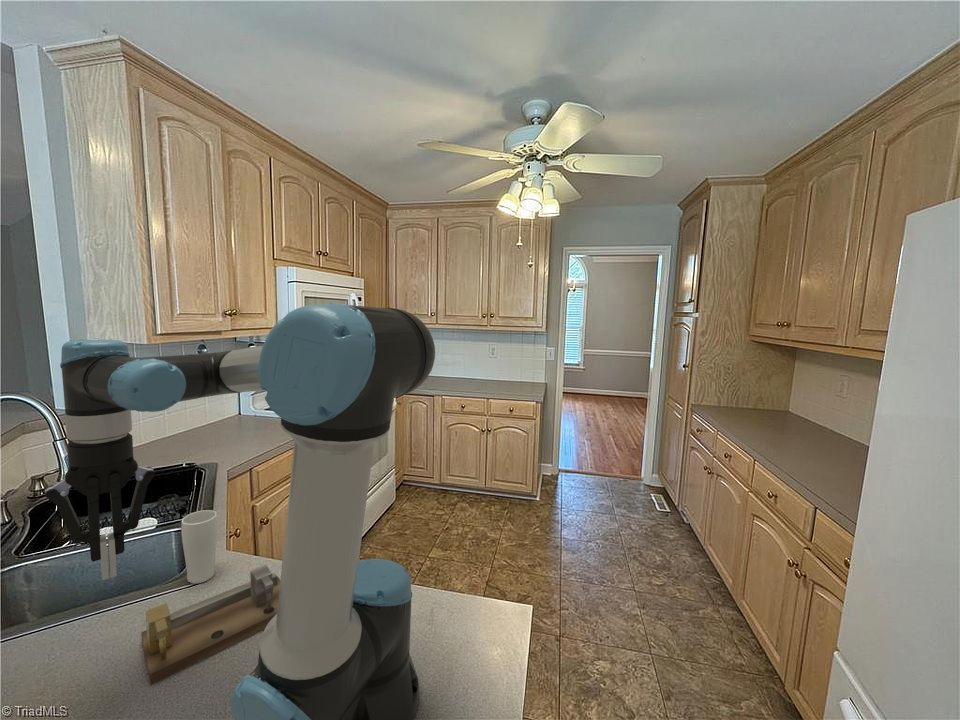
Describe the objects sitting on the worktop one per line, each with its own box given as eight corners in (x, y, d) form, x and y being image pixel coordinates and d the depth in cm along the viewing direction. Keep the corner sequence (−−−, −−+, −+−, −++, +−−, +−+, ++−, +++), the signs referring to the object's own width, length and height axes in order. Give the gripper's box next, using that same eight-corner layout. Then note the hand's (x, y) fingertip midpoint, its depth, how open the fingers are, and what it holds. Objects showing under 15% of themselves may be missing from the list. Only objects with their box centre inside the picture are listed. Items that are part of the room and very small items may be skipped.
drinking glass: (177, 589, 88) (175, 525, 86) (191, 570, 95) (188, 511, 93) (212, 585, 90) (210, 522, 88) (223, 566, 96) (221, 508, 95)
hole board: (297, 612, 83) (297, 576, 82) (150, 685, 66) (148, 640, 65) (277, 584, 91) (277, 551, 90) (141, 641, 74) (139, 602, 73)
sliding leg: (174, 656, 69) (173, 624, 68) (152, 666, 67) (151, 634, 66) (167, 632, 74) (166, 602, 73) (147, 641, 72) (145, 611, 71)
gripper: (151, 424, 70) (156, 548, 73) (39, 438, 61) (50, 581, 63) (157, 434, 65) (163, 568, 68) (37, 451, 55) (49, 606, 58)
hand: (109, 574), depth 65 cm, fingers closed
